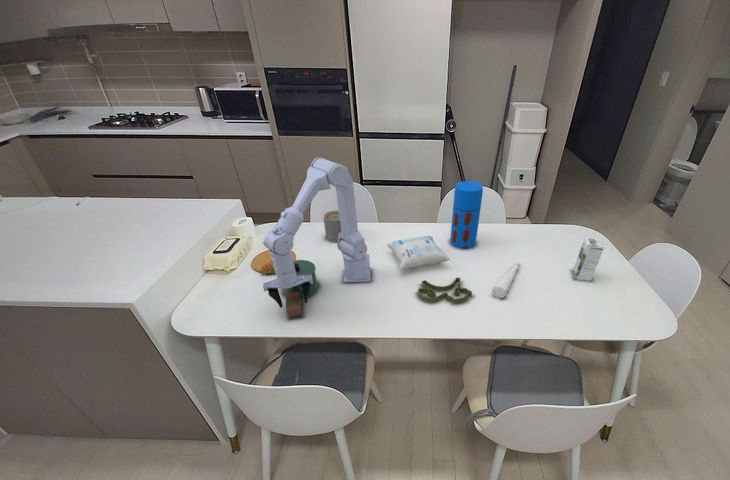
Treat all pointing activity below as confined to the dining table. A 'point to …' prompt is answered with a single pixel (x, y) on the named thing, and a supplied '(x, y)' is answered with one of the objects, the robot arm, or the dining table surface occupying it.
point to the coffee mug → (332, 225)
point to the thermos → (466, 214)
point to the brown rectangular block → (293, 305)
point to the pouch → (417, 252)
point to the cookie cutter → (431, 293)
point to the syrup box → (588, 259)
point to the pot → (299, 288)
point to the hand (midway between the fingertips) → (293, 303)
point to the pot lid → (304, 267)
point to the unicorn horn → (504, 283)
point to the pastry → (268, 268)
